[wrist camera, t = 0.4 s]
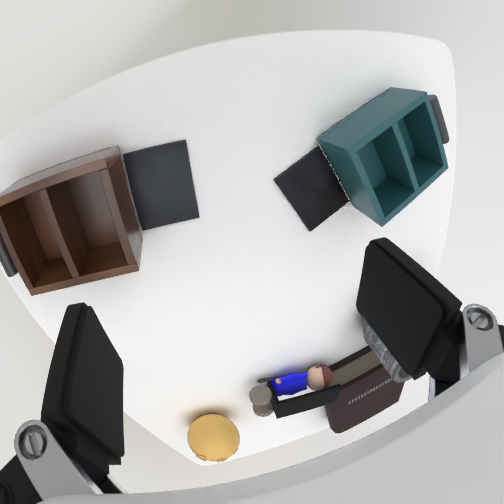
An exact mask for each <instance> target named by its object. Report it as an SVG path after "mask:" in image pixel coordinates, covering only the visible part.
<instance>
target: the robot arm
mask: <svg viewBox="0 0 504 504" xmlns="http://www.w3.org/2000/svg"><path fill="white" fill-rule="evenodd" d="M461 305H462V302H461V301H460V300H459V299H457V298H456V297H455V296H454V295H453V294H452V293H451V292H450V291H449V290H448V289H447V288H445V287H444V286H443V285H442V284H441V283H440V282H439V281H438V280H437V279H435V278H434V277H433V276H432V275H431V274H430V273H429V272H427V271H426V270H425V269H424V268H423V267H422V266H420V265H419V264H418V263H417V262H416V261H415V260H413V259H412V258H411V257H410V256H409V255H407V254H406V253H405V252H404V251H402V250H401V249H400V248H399V247H398V246H396V245H395V244H394V243H393V242H391V241H390V240H389V239H387V238H385V237H383V238H379V239H375V240H371V241H370V242H369V245H368V246H367V247H366V250H365V256H364V262H363V269H362V275H361V280H360V286H359V291H358V296H357V302H356V306H357V310H358V312H359V313H360V314H361V316H362V317H363V318H364V319H365V321H366V322H367V323H368V324H369V326H370V327H371V328H372V330H373V331H374V332H375V333H376V335H377V336H378V337H379V339H380V340H381V341H382V343H383V344H384V345H385V346H386V348H387V349H388V350H389V352H390V353H391V354H392V356H393V357H394V358H395V360H396V361H397V362H398V364H399V365H400V366H401V368H402V369H403V370H404V372H405V373H406V374H408V375H411V376H412V378H413V379H414V380H416V379H418V378H419V377H421V376H423V375H425V374H426V372H428V374H429V375H430V383H429V398H428V402H427V403H426V404H424V405H422V406H421V407H419V408H417V409H416V410H414V411H413V412H411V413H409V414H408V415H406V416H404V417H402V418H401V419H399V420H397V421H395V422H393V423H391V424H389V425H388V426H386V427H384V428H382V429H380V430H378V431H376V432H374V433H372V434H370V435H368V436H366V437H364V438H362V439H360V440H357V441H355V442H353V443H351V444H348V445H346V446H344V447H341V448H339V449H337V450H334V451H332V452H329V453H327V454H324V455H322V456H319V457H316V458H314V459H311V460H308V461H305V462H302V463H300V464H296V465H293V466H290V467H287V468H284V469H281V470H278V471H274V472H270V473H267V474H263V475H259V476H255V477H251V478H247V479H243V480H238V481H233V482H229V483H224V484H219V485H213V486H207V487H200V488H193V489H186V490H177V491H165V492H153V493H134V494H128V493H127V492H126V491H125V490H124V489H123V488H122V487H121V486H120V485H119V484H118V483H117V482H116V481H115V480H114V479H113V478H112V476H111V475H110V474H109V465H121V457H123V456H124V433H123V371H124V369H123V363H122V360H121V358H120V357H119V355H118V353H117V352H116V350H115V348H114V347H113V345H112V343H111V341H110V340H109V338H108V336H107V334H106V333H105V331H104V329H103V327H102V325H101V323H100V321H99V320H98V318H97V316H96V314H95V312H94V310H93V308H92V307H91V306H87V305H86V304H85V303H77V304H72V305H69V306H68V307H67V309H66V312H65V315H64V318H63V321H62V324H61V328H60V331H59V335H58V338H57V342H56V345H55V349H54V353H53V357H52V361H51V365H50V369H49V374H48V378H47V383H46V389H45V393H44V399H43V405H42V411H41V421H38V420H30V421H27V422H25V423H24V424H22V425H21V426H20V428H19V429H18V431H17V433H16V435H15V440H14V446H15V450H16V455H15V456H14V457H13V458H12V459H11V460H10V461H9V462H8V463H7V464H6V465H5V466H4V468H3V469H2V470H0V504H504V326H503V325H498V324H497V320H496V318H495V316H494V315H493V313H492V312H491V311H490V310H489V309H488V308H486V307H484V306H482V305H479V304H470V305H467V306H466V307H465V308H464V310H463V312H461V311H460V310H459V309H460V307H461Z"/></svg>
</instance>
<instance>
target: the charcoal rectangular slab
mask: <svg viewBox="0 0 504 504" xmlns="http://www.w3.org/2000/svg"><path fill="white" fill-rule="evenodd" d="M123 157H124V162H125V166H126V171H127V175H128V179H129V183H130V187H131V191H132V195H133V199H134V203H135V206H136V210H137V214H138V217H139V221H140V224H141V228H142V230H147V229H151V228H155V227H159V226H164V225H168V224H172V223H177V222H181V221H186V220H190V219H195V218H199V213H198V208H197V202H196V197H195V191H194V186H193V180H192V174H191V168H190V162H189V156H188V150H187V144H186V140H182V141H177V142H172V143H167V144H163V145H158V146H154V147H150V148H146V149H141V150H137V151H134V152H130V153H126V154H123Z"/></svg>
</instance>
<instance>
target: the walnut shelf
mask: <svg viewBox="0 0 504 504" xmlns="http://www.w3.org/2000/svg"><path fill="white" fill-rule="evenodd" d="M142 241H143V239H142V235H141V232H140V229H139V225H138V222H137V218H136V215H135V211H134V207H133V204H132V200H131V196H130V192H129V188H128V184H127V180H126V176H125V172H124V168H123V163H122V159H121V154H120V150H119V146H114V147H111V148H107V149H104V150H100V151H97V152H94V153H91V154H88V155H85V156H82V157H78V158H76V159H73V160H70V161H67V162H64V163H61V164H59V165H56V166H53V167H50V168H48V169H45V170H43V171H40V172H38V173H35V174H33V175H30V176H28V177H26V178H23V179H21V180H19V181H16V182H15V183H14V184H12V185H11V186H10V187H8V188H7V189H5V190H4V191H3V192H2V193H0V262H1V264H2V266H3V268H4V270H5V272H6V274H7V276H8V277H12V276H14V275H15V274H17V273H18V272H19V274H20V276H21V278H22V280H23V281H24V283H25V285H26V287H27V289H28V290H29V292H30V294H31V296H33V295H37V294H42V293H46V292H50V291H54V290H58V289H63V288H67V287H71V286H75V285H80V284H84V283H88V282H93V281H97V280H101V279H105V278H110V277H114V276H118V275H123V274H127V273H131V272H136V271H139V266H140V257H141V249H142Z"/></svg>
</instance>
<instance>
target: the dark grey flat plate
mask: <svg viewBox="0 0 504 504" xmlns="http://www.w3.org/2000/svg"><path fill="white" fill-rule="evenodd" d="M274 181H275V182H276V184H277V185H278V187H279V188H280V189H281V191H282V192H283V194H284V195H285V196H286V198H287V199H288V201H289V202H290V204H291V205H292V206H293V208H294V209H295V211H296V212H297V214H298V215H299V217H300V218H301V220H302V221H303V223H304V224H305V225H306V227H307V228H308V230H309V231H312V230H313V229H314V228H316V227H317V226H318V225H319V224H321V223H322V222H323V221H325V220H326V219H327V218H328V217H330V216H331V215H332V214H333V213H335V212H336V211H337V210H338V209H340V208H341V207H342V206H344V205H345V204H346V203H347V202H349V201H348V199H347V197H346V195H345V193H344V191H343V189H342V187H341V185H340V183H339V181H338V180H337V178H336V176H335V174H334V172H333V170H332V169H331V167H330V165H329V163H328V161H327V160H326V158H325V156H324V154H323V153H322V151H321V149H320V148H319V147H316V148H315V149H314V150H312V151H311V152H310V153H308V154H307V155H306V156H304V157H303V158H302V159H300V160H299V161H298V162H296V163H295V164H293V165H292V166H291V167H289V168H288V169H287V170H286V171H284V172H283V173H282V174H280V175H279V176H278V177H276V178H275V179H274Z"/></svg>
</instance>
